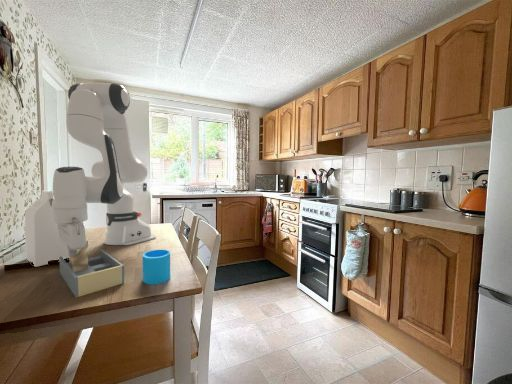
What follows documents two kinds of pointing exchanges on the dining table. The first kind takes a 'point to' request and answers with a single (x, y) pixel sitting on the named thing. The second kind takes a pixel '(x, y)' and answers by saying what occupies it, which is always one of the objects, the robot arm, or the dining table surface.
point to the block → (78, 262)
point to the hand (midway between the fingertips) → (72, 256)
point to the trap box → (93, 274)
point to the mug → (156, 266)
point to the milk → (43, 232)
